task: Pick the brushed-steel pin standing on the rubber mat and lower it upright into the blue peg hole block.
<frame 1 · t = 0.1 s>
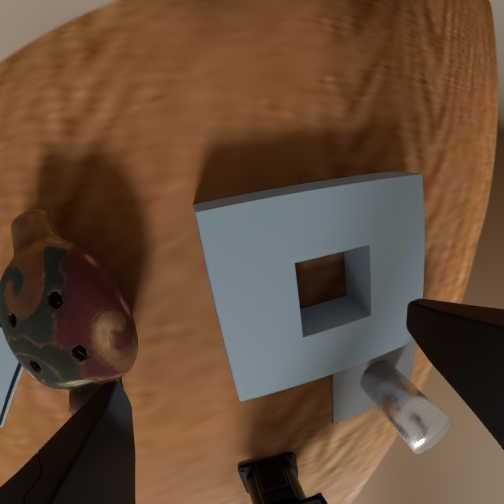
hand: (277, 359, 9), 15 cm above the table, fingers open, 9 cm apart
blue peg hole block: (313, 273, 25), on the table
steel pin: (376, 376, 29), resting on rubber mat
rubber mat: (374, 374, 29), on the table
decorative turtle: (81, 299, 21), on the table
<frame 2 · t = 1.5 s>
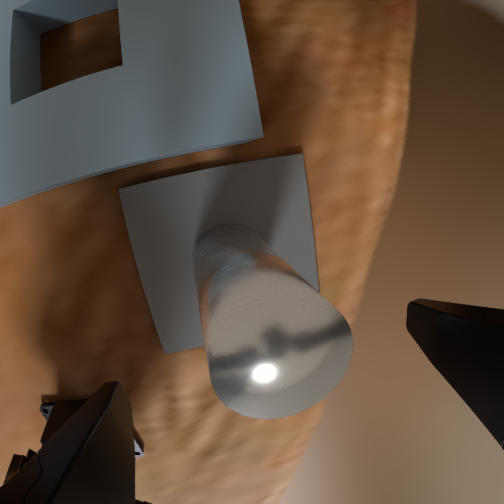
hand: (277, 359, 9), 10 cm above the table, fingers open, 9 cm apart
blue peg hole block: (83, 57, 13), on the table
steel pin: (229, 259, 17), resting on rubber mat
rubber mat: (227, 257, 18), on the table
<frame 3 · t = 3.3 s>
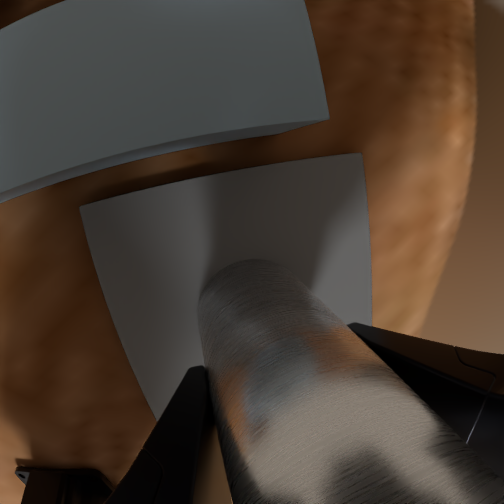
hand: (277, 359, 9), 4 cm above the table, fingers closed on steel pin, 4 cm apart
blue peg hole block: (39, 14, 7), on the table
steel pin: (252, 311, 11), resting on rubber mat, touching gripper
rubber mat: (250, 307, 12), on the table
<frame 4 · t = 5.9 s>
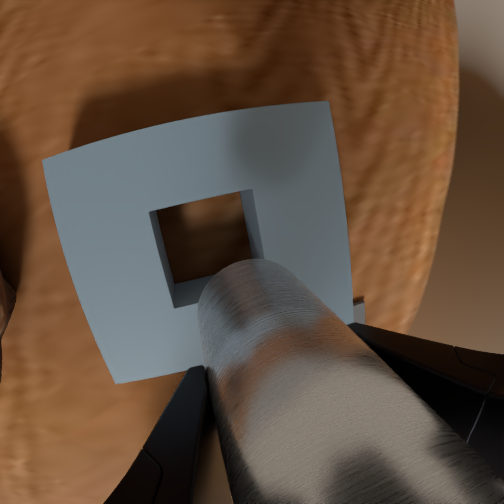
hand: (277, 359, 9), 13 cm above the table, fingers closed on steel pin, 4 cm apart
blue peg hole block: (205, 235, 21), on the table
steel pin: (252, 312, 11), point 10 cm above the table, touching gripper
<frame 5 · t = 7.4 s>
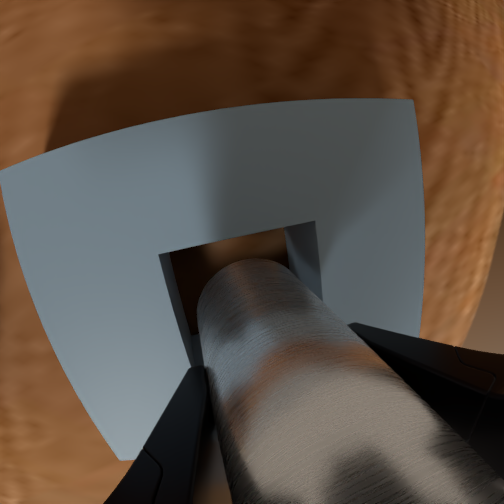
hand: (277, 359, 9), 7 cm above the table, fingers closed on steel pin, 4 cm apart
blue peg hole block: (233, 273, 15), on the table
steel pin: (252, 311, 11), point 4 cm above the table, touching gripper
when the fingers open (5 cm above the table, at t = 8.7 s): steel pin drops 2 cm, resting in blue peg hole block.
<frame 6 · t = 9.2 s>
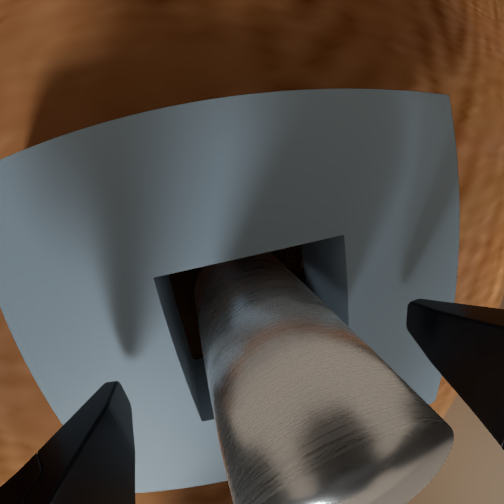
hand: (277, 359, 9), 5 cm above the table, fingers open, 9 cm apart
blue peg hole block: (242, 291, 13), on the table
steel pin: (242, 292, 13), resting in blue peg hole block
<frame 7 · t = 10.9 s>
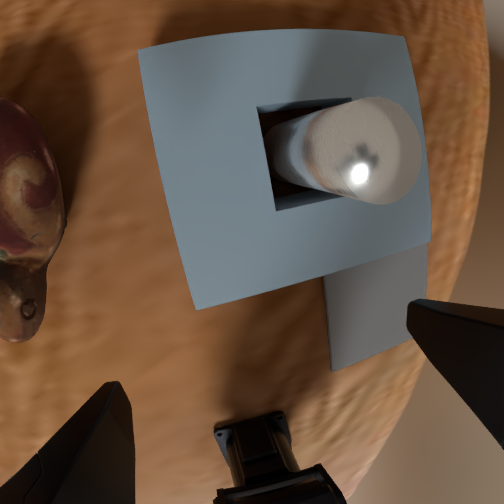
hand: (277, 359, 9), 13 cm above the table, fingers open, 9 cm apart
blue peg hole block: (290, 151, 20), on the table
steel pin: (290, 151, 20), resting in blue peg hole block
rubber mat: (380, 303, 25), on the table
decorative turtle: (21, 191, 16), on the table
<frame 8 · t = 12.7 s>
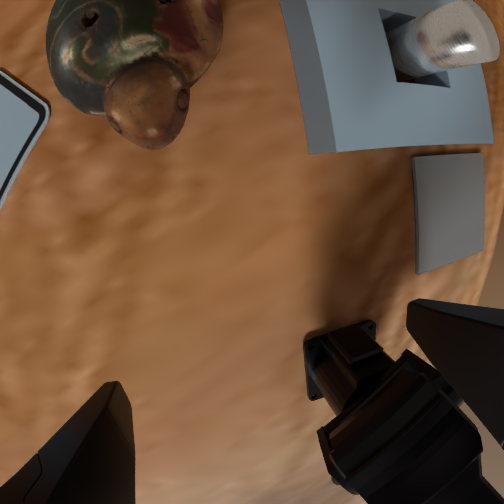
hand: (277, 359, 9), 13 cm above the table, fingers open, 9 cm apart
blue peg hole block: (385, 60, 20), on the table
steel pin: (385, 60, 20), resting in blue peg hole block
rubber mat: (453, 209, 25), on the table
decorative turtle: (138, 50, 16), on the table
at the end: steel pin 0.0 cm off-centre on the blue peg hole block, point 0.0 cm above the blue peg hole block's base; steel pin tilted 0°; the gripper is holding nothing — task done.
